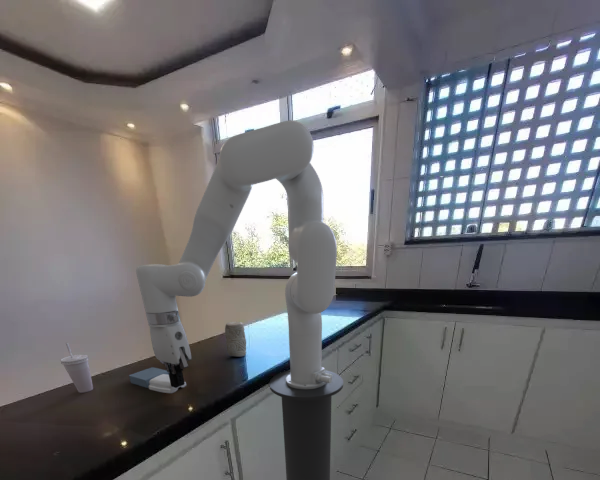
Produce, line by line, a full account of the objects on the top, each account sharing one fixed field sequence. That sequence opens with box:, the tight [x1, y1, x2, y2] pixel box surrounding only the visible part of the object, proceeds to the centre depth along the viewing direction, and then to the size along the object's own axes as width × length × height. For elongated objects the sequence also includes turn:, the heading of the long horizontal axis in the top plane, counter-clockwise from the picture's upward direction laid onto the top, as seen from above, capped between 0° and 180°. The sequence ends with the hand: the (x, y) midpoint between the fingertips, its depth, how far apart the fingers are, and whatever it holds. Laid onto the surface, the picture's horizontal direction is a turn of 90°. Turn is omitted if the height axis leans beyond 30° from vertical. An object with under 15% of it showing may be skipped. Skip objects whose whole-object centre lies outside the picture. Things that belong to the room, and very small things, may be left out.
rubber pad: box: [128, 366, 169, 389], centre depth 93 cm, size 8×8×2 cm
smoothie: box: [59, 341, 94, 394], centre depth 86 cm, size 6×6×14 cm
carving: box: [224, 321, 247, 358], centre depth 111 cm, size 6×8×12 cm
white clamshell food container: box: [148, 374, 187, 394], centre depth 88 cm, size 9×7×3 cm
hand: (178, 385), depth 85 cm, fingers closed
